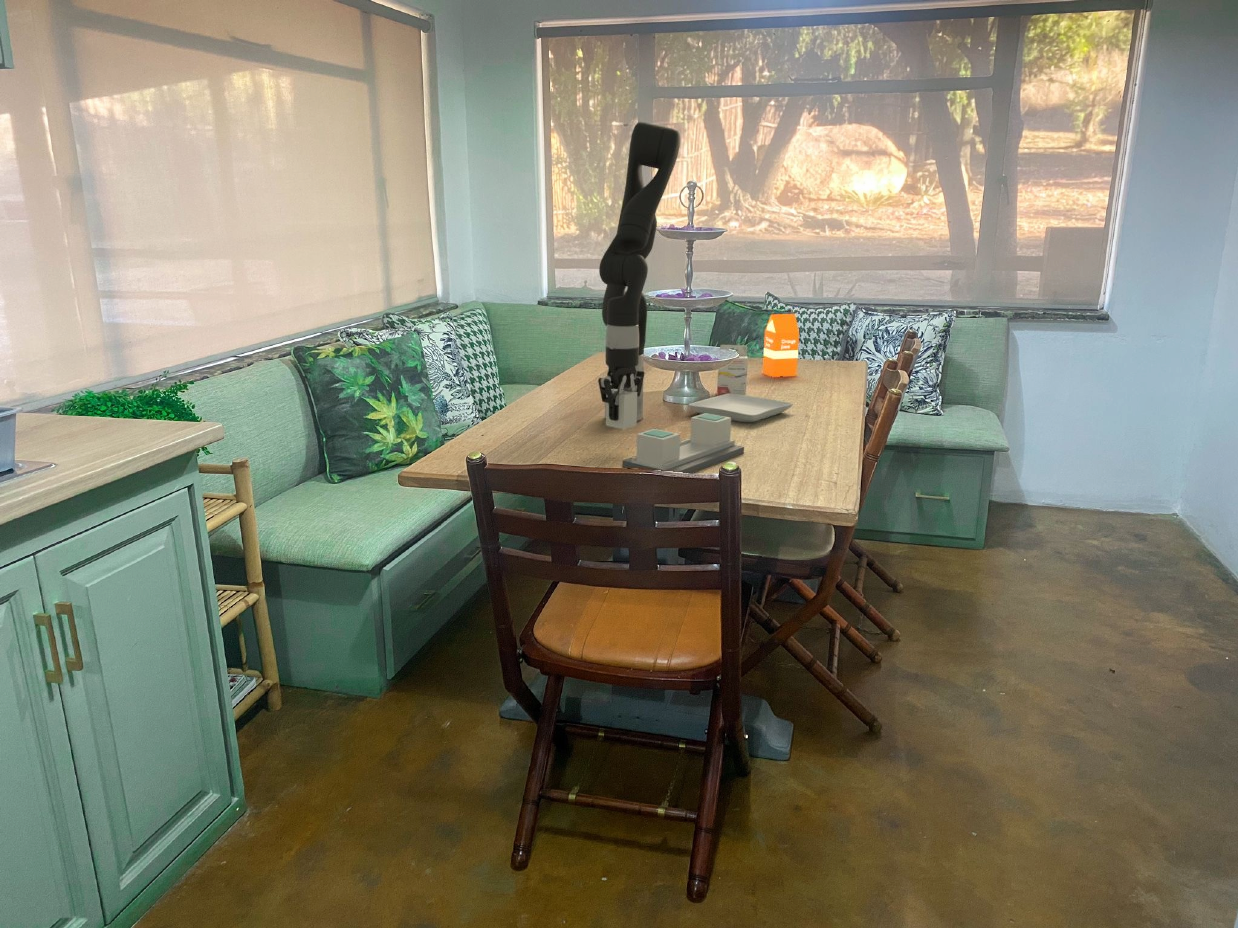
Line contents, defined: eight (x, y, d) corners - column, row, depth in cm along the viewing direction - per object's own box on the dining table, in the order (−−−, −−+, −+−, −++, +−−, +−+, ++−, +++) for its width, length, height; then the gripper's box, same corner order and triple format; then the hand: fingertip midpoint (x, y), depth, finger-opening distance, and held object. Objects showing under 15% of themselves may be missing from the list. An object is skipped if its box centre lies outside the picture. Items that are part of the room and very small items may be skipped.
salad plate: (728, 403, 259) (728, 391, 258) (793, 414, 246) (794, 401, 245) (685, 415, 243) (686, 403, 242) (753, 428, 230) (754, 415, 229)
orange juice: (762, 373, 303) (765, 313, 297) (785, 371, 305) (789, 312, 300) (772, 377, 296) (776, 316, 290) (796, 375, 298) (800, 315, 292)
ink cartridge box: (717, 396, 266) (718, 347, 262) (716, 393, 271) (718, 344, 266) (746, 397, 265) (748, 347, 261) (745, 393, 270) (747, 345, 266)
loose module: (605, 425, 208) (605, 391, 205) (617, 421, 211) (618, 388, 209) (623, 429, 204) (624, 395, 202) (636, 425, 208) (637, 392, 205)
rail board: (622, 467, 195) (622, 430, 193) (693, 442, 215) (694, 409, 213) (674, 479, 186) (675, 442, 184) (743, 453, 206) (745, 418, 204)
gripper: (629, 338, 210) (628, 410, 215) (588, 346, 199) (588, 420, 204) (655, 342, 205) (653, 415, 210) (614, 350, 195) (613, 426, 200)
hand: (621, 417), depth 207 cm, fingers closed on loose module, 4 cm apart
